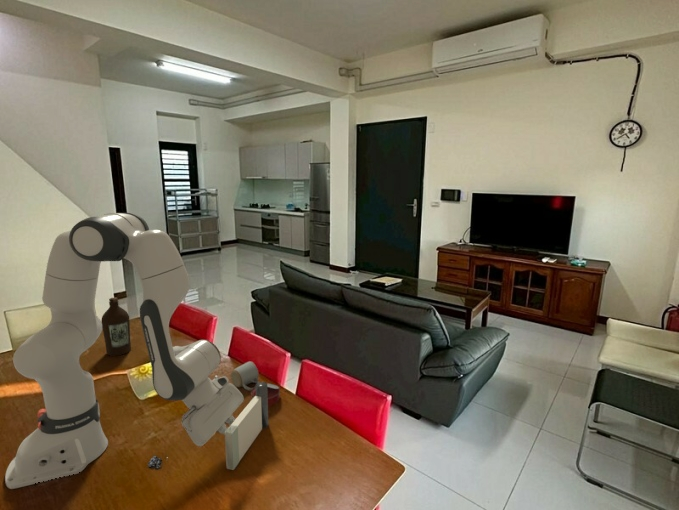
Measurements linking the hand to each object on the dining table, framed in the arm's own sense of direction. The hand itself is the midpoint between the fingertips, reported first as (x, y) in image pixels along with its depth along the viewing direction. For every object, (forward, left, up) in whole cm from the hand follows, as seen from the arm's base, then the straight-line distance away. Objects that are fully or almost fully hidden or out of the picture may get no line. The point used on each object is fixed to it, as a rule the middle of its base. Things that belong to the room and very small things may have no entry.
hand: (235, 434), depth 103 cm
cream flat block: (+3, 0, -6) cm, 7 cm away
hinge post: (+11, +8, -6) cm, 15 cm away
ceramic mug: (+15, +34, -7) cm, 37 cm away
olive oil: (-24, +90, -7) cm, 94 cm away
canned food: (+18, +21, -7) cm, 29 cm away
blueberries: (-19, +8, -7) cm, 22 cm away
